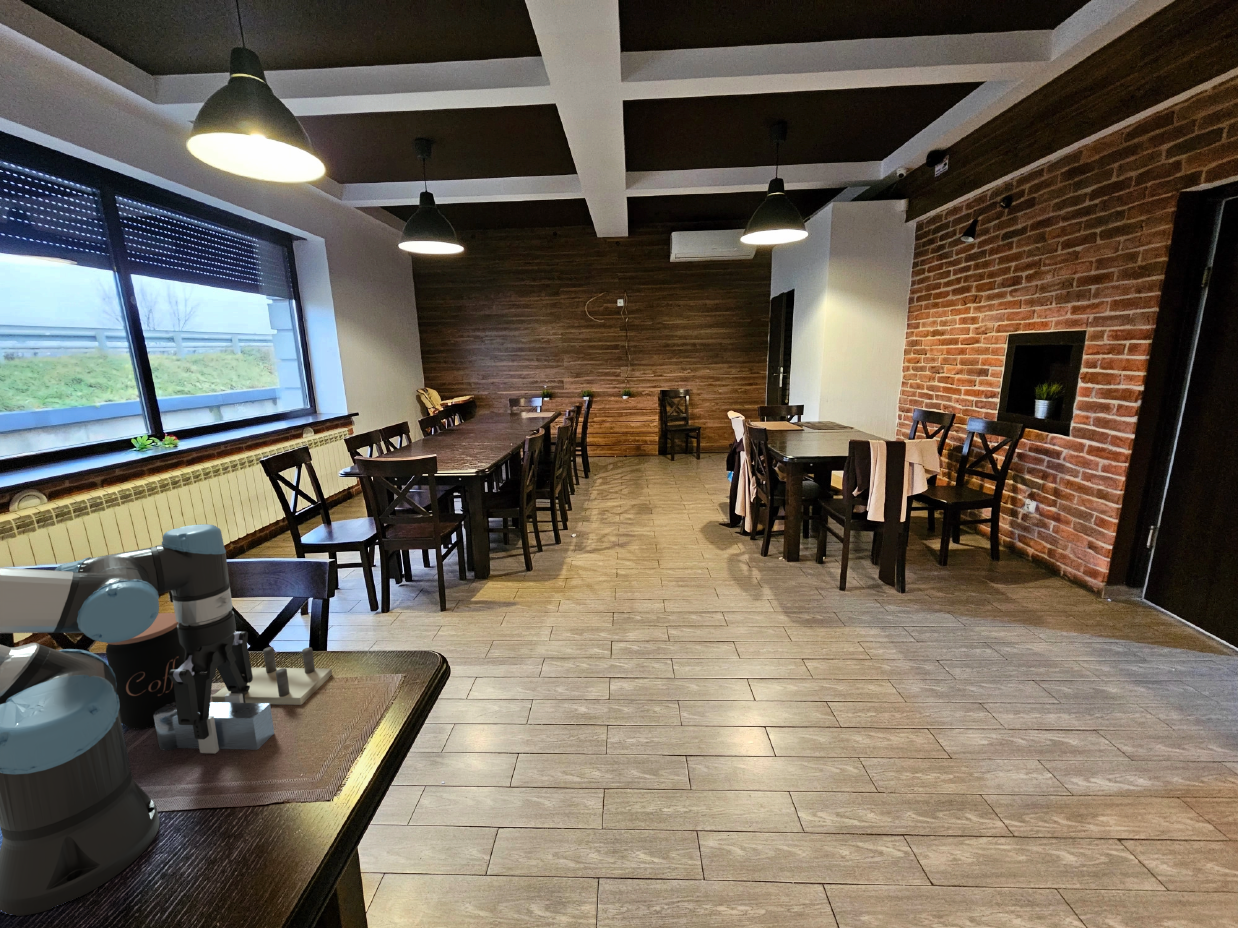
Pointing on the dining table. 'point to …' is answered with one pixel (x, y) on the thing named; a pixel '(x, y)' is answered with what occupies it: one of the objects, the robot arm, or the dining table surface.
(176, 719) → the bevelled metal block
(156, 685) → the coffee jar
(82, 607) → the robot arm
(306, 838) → the dining table surface
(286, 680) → the peg rack
